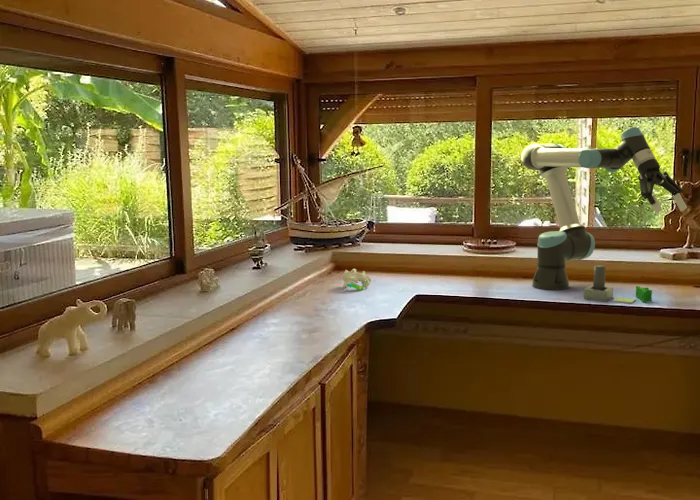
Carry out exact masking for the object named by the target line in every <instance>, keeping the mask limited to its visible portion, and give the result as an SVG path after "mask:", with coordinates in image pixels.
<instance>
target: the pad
mask: <svg viewBox="0 0 700 500" xmlns="http://www.w3.org/2000/svg"><path fill="white" fill-rule="evenodd" d="M636 301H637V298H632V297H631V298H630V297H621V296H617V297H615V298H614V299H612V302H613V303H622V304H628V305H633V303H634V302H635V303H636Z"/></svg>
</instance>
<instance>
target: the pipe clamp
mask: <svg viewBox="0 0 700 500" xmlns="http://www.w3.org/2000/svg"><path fill="white" fill-rule="evenodd" d="M652 294H653V290H652V289H649V287H641V286H639V285H637V286H635V298H636V299H638V300H639V301H641V303H643V304H647V302H652V300H653V299H652V297H653V295H652Z"/></svg>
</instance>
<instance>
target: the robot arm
mask: <svg viewBox="0 0 700 500" xmlns="http://www.w3.org/2000/svg"><path fill="white" fill-rule="evenodd" d="M620 139H621V142H620V143H619V144H617V146H616V147H614V148H567V147H566V146H565V145H562V144H560V143H555V142H554V143H553V142H551V143H531V144H529V145H527V146H525V148H524V149H523V150H522V152H521V154H520V159H521V160H520V161H521V163H522V165H523V166H524V167H525V168H527V169H528V170H531V171H532V170H533V171H540V175H541V177H542V178H544V179H546V184H547V187H548V191H549V194H550V197H551V202H552V205H553V208H554V212H555V215H556V218H557V222H558V226H559V230H554V231H552V230H551V231H545V232H543V233H540V234H539V235H538V238H537V260H536V261H537V264H536V265H537V266H536V270H535V274H534V276H533V278H532V284H531V285H532V287H534V288H536V289H541V290H555V291H556V290H557V291H558V290H565V289H566V290H567V289H568V288H570V281H569V278H568V274H567V270H566V262H567V261H569V262H570V261H581V260H585V259H588V258H589V257H591V256H592V254H593V252H594V251H595V247H596V241H595V237H594V236H593V234H591V233H590V232H588V231H587V230H586V226H585V225H584V224H582V223H581V222H580V220H579V216H578V212H577V208H576V206H575V203H574V198H573V196H572V191H571V188H570V186H569V182H568V179H567V175H566V173H567V171H568V168H583V169H584V168H585V169H597V168H599V169H600V168H604V169H605V170H606V171H607V172H610V173H615V172H617V171H619V170H621V169H622V168H623V167H624V166H625V165H626V164H627V163H629V162H630V161H631V160H632V161H633V164H634V165H635V168H637V171H638V172H639V175H638V176H637V178H638V181H639V187H640V189H639V190H640V195H641V197H642V198H643V199H645V200H648V202H649V204H650V206H651V207H652V209H653V211H654V213H655V214H659V213H660V212H661V211H662V210H663V208H662V206H661V204H660V202H659V200H658V198H657V196H656V195H655V194H653V191H654V186H659V187H662V188H663V189H665V191H668V193H670V194H671V195H672V198H673V200H674V201H675V204H676V205H677V208H678V209H679V211H680V212H683V211H685V210H686V209H687V208H688V206H687V204H686V203H685V201H684V198H683V196H682V195H681V193H683V192H684V190H683V189H682V188H681V186H679V185H678V184H677V182H675V180H674V179H673V178H672V177H671V176H670V175H669V173H668V172H667V171H664V172H661V171H660V168H661V166H660V164H659V161H658V160H657V159H656V156H655V155H654V153H653V152H652V149H651V147H650V146H649V144H648V142H647V139H646V138H645V136H644V134H643V132H642V131H641V130H640V128H639V127H636V126H635V127H634V126H633V127H632V126H631V127H629V128H626V129H625V130H623V131H622V132H621V134H620Z"/></svg>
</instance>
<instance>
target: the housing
mask: <svg viewBox="0 0 700 500" xmlns="http://www.w3.org/2000/svg"><path fill="white" fill-rule="evenodd" d="M613 297H614V287H613V286H605V290H599V289H593V284H590V285H588V286H586V287H585V288H584V289H583V299H584V300H590V301H591V300H592V301H600V302H602V301H603V302H608V301H610V300H612V299H613Z"/></svg>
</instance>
